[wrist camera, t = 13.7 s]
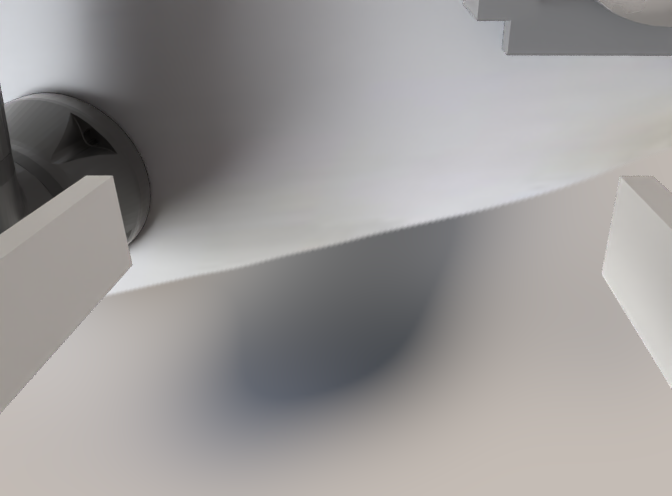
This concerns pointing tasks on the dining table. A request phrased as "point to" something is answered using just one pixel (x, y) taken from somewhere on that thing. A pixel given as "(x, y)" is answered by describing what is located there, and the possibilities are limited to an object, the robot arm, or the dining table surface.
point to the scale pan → (642, 10)
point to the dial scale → (570, 28)
